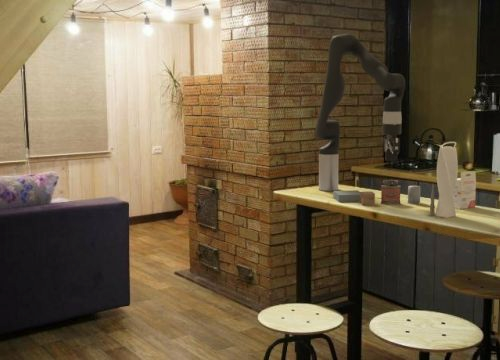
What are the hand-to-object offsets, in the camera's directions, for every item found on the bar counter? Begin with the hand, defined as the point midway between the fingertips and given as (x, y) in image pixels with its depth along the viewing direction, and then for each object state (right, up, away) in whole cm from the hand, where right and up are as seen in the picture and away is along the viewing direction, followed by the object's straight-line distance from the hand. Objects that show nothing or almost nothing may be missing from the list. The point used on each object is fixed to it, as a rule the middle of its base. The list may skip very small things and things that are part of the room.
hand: (391, 162), depth 254 cm
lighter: (0, -18, +3) cm, 18 cm away
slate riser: (-16, -16, +13) cm, 26 cm away
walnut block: (-10, -18, +2) cm, 20 cm away
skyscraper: (+14, -21, -24) cm, 35 cm away
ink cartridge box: (+27, -19, -7) cm, 34 cm away
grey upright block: (+10, -17, +3) cm, 20 cm away
